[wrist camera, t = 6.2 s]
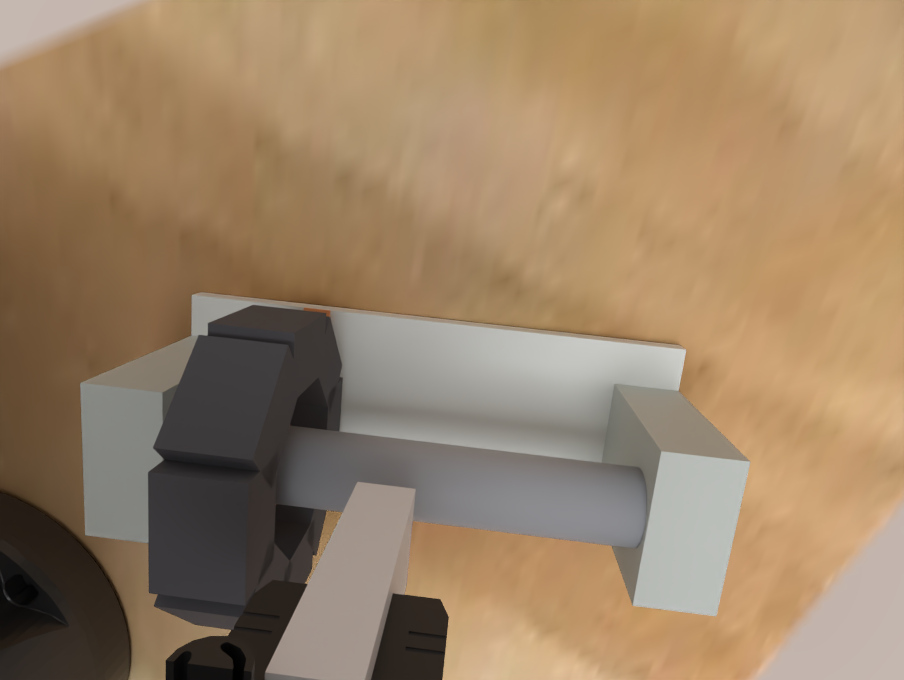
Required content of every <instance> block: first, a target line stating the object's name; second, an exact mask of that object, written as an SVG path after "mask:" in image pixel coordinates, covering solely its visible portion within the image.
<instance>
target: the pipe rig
mask: <svg viewBox="0 0 904 680" xmlns="http://www.w3.org/2000/svg"><path fill="white" fill-rule="evenodd" d="M251 305H259V306H268V307H277V308H286V309H295V310H304V311H313V312H322V313H326V316H328V317H330V318H331V322H332V326H333V330H334V334H335V338H336V342H337V346H338V350H339V354H340V358H341V362H342V369H341V373H340V377H343V383H342V399H341V414H340V430H339V431H331V430H323V429H314V428H306V427H297V426H291V425H290V426H289V430H288V433H287V437H286V440H285V444H284V447H283V451H282V454H281V458H280V461H279V465H278V468H277V486H276V504H281V505H289V506H297V507H305V508H313V509H321V510H329V511H337V512H343V511H344V509H345V507H346V504H347V502H348V500H349V498H350V496H351V494H352V492H353V490H354V488H355V486H356V484H357V482H364V483H372V484H380V485H388V486H397V487H405V488H413V489H416V491H415V502H414V512H413V521H418V522H426V523H434V524H442V525H450V526H458V527H466V528H474V529H482V530H490V531H498V532H506V533H514V534H522V535H530V536H538V537H546V538H554V539H562V540H570V541H578V542H586V543H594V544H602V545H610V546H612V548H613V551H614V554H615V557H616V560H617V563H618V565H619V568H620V571H621V574H622V577H623V580H624V582H625V585H626V588H627V591H628V594H629V597H630V599H631V602H632V605H633V606H640V607H648V608H655V609H663V610H671V611H679V612H687V613H694V614H702V615H710V616H716V615H717V611H718V606H719V602H720V597H721V593H722V588H723V584H724V579H725V575H726V570H727V566H728V561H729V557H730V552H731V547H732V543H733V538H734V534H735V529H736V525H737V520H738V516H739V511H740V507H741V502H742V498H743V493H744V489H745V484H746V480H747V475H748V470H749V466H750V461H749V460H748V459H747V458H746V457H745V456H744V455H743V454H742V453H741V452H740V451H739V450H738V449H737V448H736V447H735V446H734V445H733V444H732V443H731V442H730V441H729V440H728V439H727V438H726V437H725V436H724V435H723V434H722V433H721V432H720V431H719V430H718V429H717V428H716V427H715V426H714V425H713V424H712V423H711V422H709V421H708V420H707V419H706V418H705V417H704V416H703V415H702V414H701V413H700V412H699V411H698V410H697V409H696V408H695V407H694V406H693V405H692V404H691V403H690V402H689V401H688V400H687V399H686V398H685V397H684V396H683V395H682V394H681V393H680V392H679V386H680V380H681V375H682V370H683V364H684V359H685V354H686V349H684V348H683V347H682V346H680V345H675V344H665V343H656V342H647V341H638V340H629V339H620V338H611V337H602V336H593V335H584V334H575V333H566V332H557V331H548V330H539V329H530V328H521V327H512V326H503V325H494V324H485V323H476V322H467V321H458V320H448V319H439V318H430V317H421V316H412V315H403V314H394V313H385V312H376V311H367V310H358V309H349V308H340V307H331V306H322V305H313V304H304V303H295V302H286V301H277V300H268V299H259V298H250V297H241V296H232V295H222V294H213V293H204V292H200V293H197V294H193V295H192V325H191V336H189V337H187V338H185V339H182V340H180V341H177V342H175V343H173V344H170V345H168V346H166V347H163V348H161V349H159V350H156V351H154V352H152V353H149V354H147V355H145V356H142V357H140V358H137V359H135V360H133V361H130V362H128V363H126V364H123V365H121V366H119V367H116V368H114V369H112V370H109V371H107V372H105V373H102V374H100V375H98V376H95V377H93V378H90V379H88V380H86V381H83V382H81V383H80V390H81V421H82V451H83V482H84V512H85V535H87V536H95V537H103V538H111V539H118V540H126V541H134V542H142V543H148V472H149V471H150V470H151V469H153V468H154V467H155V466H157V465H158V464H159V463H161V462H162V461H163V460H164V459H163V458H162V457H161V456H160V455H159V454H158V453H157V452H156V451H155V450H154V449H153V446H154V444H155V441H156V439H157V436H158V434H159V431H160V429H161V426H162V424H163V421H164V419H165V417H166V414H167V412H168V409H169V407H170V404H171V402H172V399H173V397H174V394H175V392H176V389H177V387H178V385H179V382H180V380H181V377H182V375H183V372H184V370H185V367H186V365H187V362H188V360H189V357H190V355H191V353H192V350H193V348H194V345H195V343H196V340H197V338H198V335H205V336H208V323H209V322H212V321H214V320H217V319H219V318H222V317H224V316H227V315H229V314H231V313H234V312H236V311H239V310H241V309H244V308H246V307H249V306H251Z"/></svg>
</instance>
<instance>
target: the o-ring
mask: <svg viewBox="0 0 904 680" xmlns="http://www.w3.org/2000/svg"><path fill="white" fill-rule="evenodd" d="M341 369H342V362H341V358H340V354H339V350H338V346H337V342H336V338H335V334H334V330H333V326H332V322H331V318H330V317H328V316H326V313H322V312H313V311H304V310H295V309H286V308H277V307H268V306H259V305H251V306H249V307H246V308H244V309H241V310H239V311H236V312H234V313H231V314H229V315H227V316H224V317H222V318H219V319H217V320H214V321H212V322H209V323H208V336H205V335H198V338H197V340H196V343H195V345H194V348H193V350H192V353H191V355H190V357H189V360H188V362H187V365H186V367H185V370H184V372H183V375H182V377H181V380H180V382H179V385H178V387H177V389H176V392H175V394H174V397H173V399H172V402H171V404H170V407H169V409H168V412H167V414H166V417H165V419H164V421H163V424H162V426H161V429H160V431H159V434H158V436H157V439H156V441H155V444H154V446H153V449H154V450H155V451H156V452H157V453H158V454H159V455H160V456H161V457H162V458H163V459H164V460H163V461H162V462H161V463H159V464H158V465H157V466H155V467H154V468H153V469H151V470H150V471H149V472H148V543H149V593H152V594H158V596H157V598H156V601H155V604H154V606H155V607H157V608H159V609H161V610H163V611H166V612H168V613H170V614H172V615H175V616H177V617H179V618H181V619H184V620H186V621H188V622H190V623H193V624H195V625H200V626H208V627H215V628H223V629H230V630H233V629H234V625H235V624H236V622H237V620H238V619H239V617H240V616H241V615H242V614H243V611H244V609H245V607H246V606H247V604H248V603H249V601H250V599H251V598H252V596H253V594H254V593H256V592H257V591H258V590H260V589H261V588H262V587H264V586H265V585H266V584H268V583H269V582H271V581H272V580H279V581H287V582H295V583H303V584H305V582H306V580H307V578H308V576H309V574H310V572H311V570H312V557H313V555H317V550H318V546H319V541H320V537H321V533H322V528H323V524H324V520H325V515H326V511H327V510H321V509H313V508H305V507H297V506H289V505H281V504H276V486H277V468H278V465H279V461H280V458H281V454H282V451H283V447H284V444H285V440H286V437H287V433H288V430H289V426H290V425H291V426H297V427H306V428H314V429H323V430H331V431H339V430H340V414H341V399H342V383H343V377H340V373H341Z"/></svg>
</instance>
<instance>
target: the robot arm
mask: <svg viewBox="0 0 904 680" xmlns="http://www.w3.org/2000/svg"><path fill="white" fill-rule="evenodd" d="M415 491H416V489H413V488H405V487H397V486H388V485H380V484H372V483H364V482H357V484H356V486H355V488H354V490H353V492H352V494H351V496H350V498H349V500H348V502H347V504H346V507H345V509H344V511H343V513H342V515H341V517H340V519H339V521H338V523H337V525H336V527H335V529H334V531H333V533H332V535H331V537H330V539H329V542H328V544H327V546H326V548H325V550H324V552H323V554H322V556H321V558H320V560H319V562H318V564H317V566H316V568H315V570H314V572H313V574H312V577H311V579H310V581H309V583H308V584H303V583H295V582H287V581H279V580H272V581H271V582H269V583H268V584H266V585H265V586H264V587H262V588H261V589H260V590H258V591H257V592H256V593H254V594H253V596H252V598H251V599H250V601H249V603H248V604H247V606H246V607H245V609H244V611H243V614H242V615H241V616H240V617H239V619H238V620H237V622H236V624H235V625H234V629H233V630H231V632H230V634H229V635H228V636H209V637H205V638H202V639H198V640H194V641H191V642H190V643H188V644H186V645H184V646H182V647H180V648H178V649H177V650H176V651H175V652H174V653H173V654H172V655H171V656H170V657H169V658H168V659H167V660H166V680H442V677H443V667H444V657H445V647H446V638H447V628H448V618H449V617H448V615H447V613H446V610H445V608H444V606H443V604H442V602H441V600H440V599H433V598H425V597H418V596H410V595H404V594H405V589H406V585H407V576H408V565H409V555H410V544H411V534H412V523H413V512H414V502H415ZM129 662H130V651H129V640H128V633H127V628H126V624H125V620H124V617H123V613H122V610H121V608H120V605H119V603H118V600H117V598H116V596H115V594H114V591H113V589H112V587H111V586H110V584H109V582H108V580H107V579H106V577H105V575H104V574H103V572H102V571H101V569H100V568H99V566H98V565H97V564H96V562H95V561H94V560H93V558H92V557H91V556H90V555H89V554H88V553H87V551H86V550H85V549H84V548H83V547H82V546H81V545H80V544H79V543H78V542H77V541H76V540H75V539H74V538H73V537H72V536H71V535H70V534H69V533H68V532H67V531H66V530H64V529H63V528H62V527H61V526H59V525H58V524H57V523H56V522H54V521H53V520H52V519H50V518H49V517H47V516H46V515H44V514H43V513H41V512H40V511H38V510H36V509H35V508H33V507H31V506H29V505H28V504H26V503H24V502H22V501H20V500H18V499H16V498H13V497H11V496H9V495H6V494H4V493H1V492H0V680H127V679H128V673H129Z"/></svg>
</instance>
